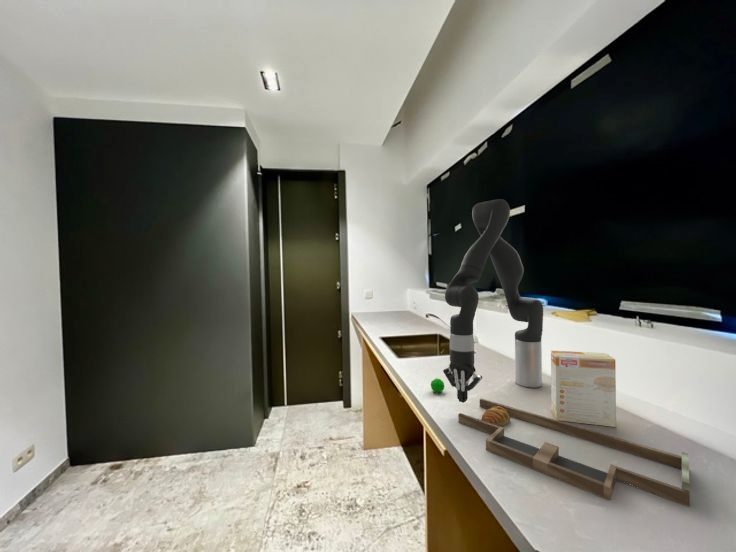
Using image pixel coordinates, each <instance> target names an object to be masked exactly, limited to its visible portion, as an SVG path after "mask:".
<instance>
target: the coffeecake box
mask: <svg viewBox="0 0 736 552" xmlns="http://www.w3.org/2000/svg"><path fill="white" fill-rule="evenodd" d="M616 372H617V371H616V359H615V358H614V357H613V356H611V355H610V354H609V353H606V352H585V351H571V350H570V351H566V350H550V374H551V375H550V387H551V389H550V390H551V395H550V396H551V412H552V414H553V416H554V418H555V420H558V421H561V422H570V423H578V424H588V425H596V426H602V427H603V426H604V427H610V428H616V427H617V388H616V386H617V384H616V383H617V381H616V377H617V375H616Z"/></svg>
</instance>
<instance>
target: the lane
mask: <svg viewBox="0 0 736 552" xmlns="http://www.w3.org/2000/svg"><path fill="white" fill-rule="evenodd" d="M494 406H495V407H498V406H500V407H502V408H504V409H505V410H506V411H507V413H508V414H509V417H510V418H511V417H512V418H514V419H518V420H522V421H525V422H528V423H531V424H534V425H538V426H541V427H544V428H548V429H551V430H554V431H557V432H561V433H563V434H566V435H569V436H572V437H576V438H580V439H583V440H586V441H589V442H592V443H595V444H598V445H599V444H600V445H601V446H605V447H609V448H612V449H615V450H618V451H622V452H625V453H628V454H631V455H635V456H637V457H640V458H644V459H647V460H650V461H654V462H656V463H659V464H664V465H667V466H669V467H673V468H677V469H680V470H681V487H679V486H675V485H672V484H670V483H667V482H664V481H661V480H658V479H654V478H652V477H649V476H646V475H643V474H640V473H637V472H634V471H631V470H628V469H626V468H622V467H619V466H617V465H614V464H610V465H609V468H608V471H607V473H608V474H607V477H606V480H605V483H603V482H601V481H598V480H595V479H593V478H590V477H588V476H585V475H582V474H580V473H577V472H574V471H572V470H569V469H566V468H564V467H561V466H559V465H556V464H554V462H555V461H556V459H557V457H558V456H560V455H559V453H560V452H559V451H560V450H559V449H560V448H559V446H558V445H555V444H552V443H549V442H546V441H544V443H543V444H542V445H541V447H540V448H539V451H538V452H537V453H536V455H535V456H532V455H529V454H527V453H524V452H522V451H519V450H516V449H514V448H511V447H508V446H506V445H503V444H500V443H498V442H499V441H500V440H501V439H502V438H503V436H505V428H504V427H503V426H502V427H500V426H497V425H494V424H491V423H488V422H485V421H482V420H481V419H479V418H477V417H473V416H470V415H467V414H464V413H461V412H460V413H458V414H457V415H458V423H459V424H461V425H465V426H467V427H470V428H472V429H475V430H478V431H480V432H484V433H486V434H489V435H490V436H489V437H488V438H486V439H485V450H486V451H488V452H490V453H493V454H495V455H498V456H500V457H503V458H505V459H507V460H510V461H512V462H515V463H517V464H519V465H522V466H525V467H527V468H529V469H532V470H535V471H537V472H538V473H542V474H544V475H547V476H549V477H552V478H554V479H556V480H559V481H561V482H564V483H566V484H569V485H572V486H573V487H577V488H579V489H581V490H584V491H586V492H589V493H591V494H594V495H596V496H599V497H601V498H603V499H605V498H606V499H605V500H608V501H611V499H612V495H613V492H614V488H615V484H616V481H617V480H618V482H620V481H621V482H620V483H623V482H625V483H624V484H626V483H627V484H626V485H628V484H631V485H633V486H632V487H634V486H635V488H637V487H638V488H637V489H639V488H640V490H642V489H643V490H642V491H645V490H646V491H645V492H647V491H649V492H648V493H650V492H651V494H653V493H654V494H653V495H656V494H657V495H656V496H658V495H659V497H662V498H664V497H665V498H664V499H667V498H668V499H667V500H669V499H670V501H672V500H673V501H672V502H675V501H676V502H675V503H678V502H679V503H678V504H680V503H682V504H681V505H683V504H685V505H684V506H686V505H687V507H688V506H690V500H691V499H690V497H691V493H690V487H691V486H690V468H689V467H690V462H689V453H687V452H683V451H681V455H678V454H675V453H671V452H668V451H664V450H661V449H657V448H655V447H654V448H653V447H650V446H648V445H643V444H640V443H637V442H633V441H631V440H626V439H623V438H619V437H615V436H613V435H609V434H605V433H602V432H599V431H596V430H592V429H589V428H585V427H582V426H578V425H576V424H572V423H567V422H566V421H558V420H556V419H553V418H550V417H547V416H543V415H540V414H538V413H532V412H530V411H526V410H523V409H519V408H516V407H512V406H509V405H505V404H502V403H499V402H495V401H491V400H490V399H489V400H488V399H485V398H479V407H480V408H483V409H485V410H488V409H491V408H492V407H494ZM631 485H630V486H631Z"/></svg>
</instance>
